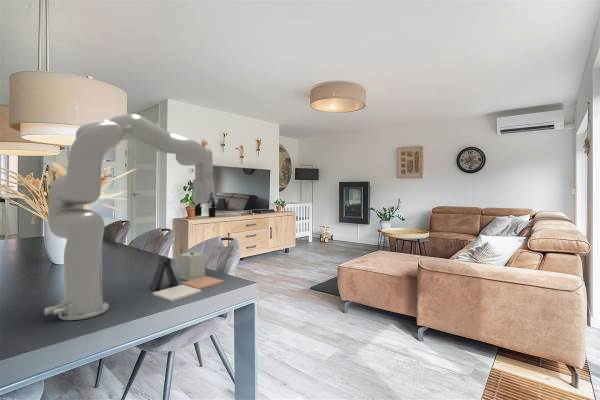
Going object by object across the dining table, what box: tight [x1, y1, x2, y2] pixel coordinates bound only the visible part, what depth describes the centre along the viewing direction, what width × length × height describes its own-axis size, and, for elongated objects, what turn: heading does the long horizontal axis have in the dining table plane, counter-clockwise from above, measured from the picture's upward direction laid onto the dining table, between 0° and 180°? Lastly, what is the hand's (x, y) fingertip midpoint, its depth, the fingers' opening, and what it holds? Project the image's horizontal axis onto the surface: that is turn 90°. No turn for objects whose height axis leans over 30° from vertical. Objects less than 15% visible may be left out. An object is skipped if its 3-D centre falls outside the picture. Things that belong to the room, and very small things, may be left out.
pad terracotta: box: [179, 275, 225, 290], centre depth 126 cm, size 12×12×1 cm
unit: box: [178, 251, 206, 281], centre depth 135 cm, size 7×8×11 cm
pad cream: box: [152, 284, 203, 302], centre depth 114 cm, size 12×12×1 cm
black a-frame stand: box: [149, 255, 180, 292], centre depth 120 cm, size 9×6×12 cm, turn 129°
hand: (205, 216), depth 139 cm, fingers open, 9 cm apart
